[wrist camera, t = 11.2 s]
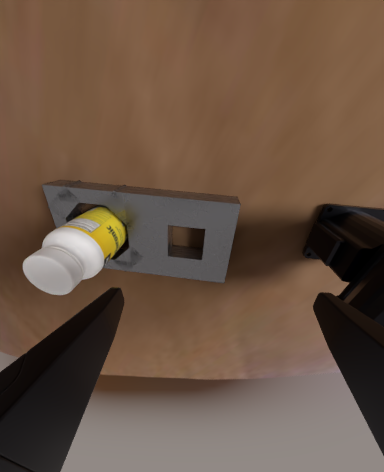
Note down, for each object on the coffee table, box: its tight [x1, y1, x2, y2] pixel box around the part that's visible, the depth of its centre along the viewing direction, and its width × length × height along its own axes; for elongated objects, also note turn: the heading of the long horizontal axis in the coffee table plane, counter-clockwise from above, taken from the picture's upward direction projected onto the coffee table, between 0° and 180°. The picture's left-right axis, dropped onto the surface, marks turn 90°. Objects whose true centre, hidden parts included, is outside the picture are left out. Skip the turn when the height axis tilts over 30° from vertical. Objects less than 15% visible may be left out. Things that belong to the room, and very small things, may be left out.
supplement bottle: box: [23, 205, 128, 295], centre depth 18 cm, size 5×5×10 cm
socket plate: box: [42, 180, 241, 283], centre depth 21 cm, size 20×10×2 cm, turn 86°
